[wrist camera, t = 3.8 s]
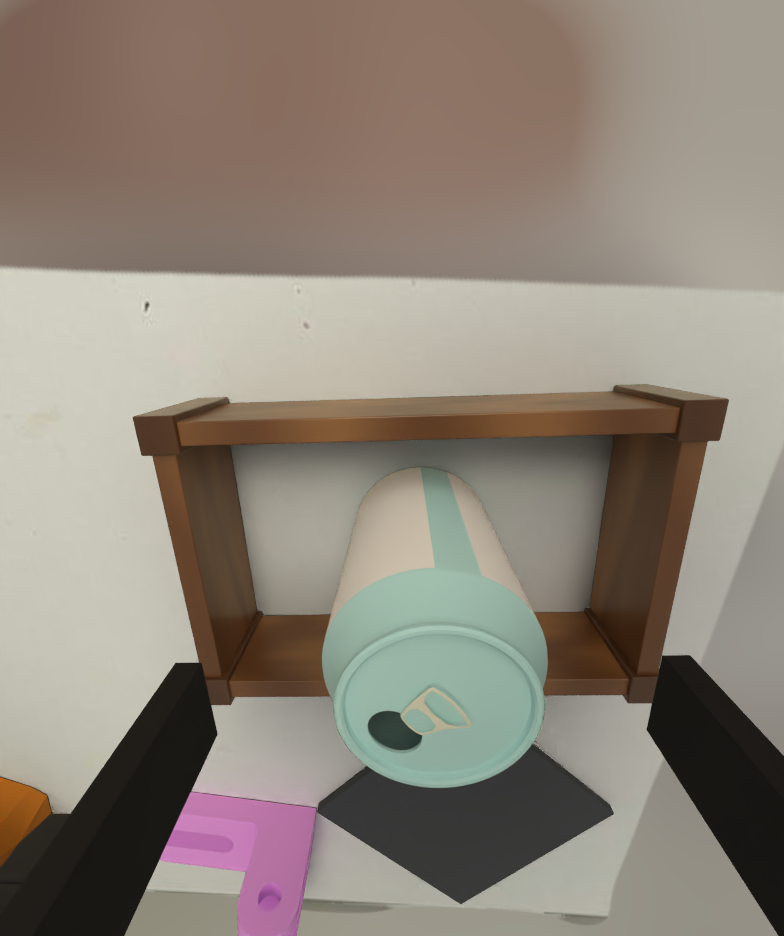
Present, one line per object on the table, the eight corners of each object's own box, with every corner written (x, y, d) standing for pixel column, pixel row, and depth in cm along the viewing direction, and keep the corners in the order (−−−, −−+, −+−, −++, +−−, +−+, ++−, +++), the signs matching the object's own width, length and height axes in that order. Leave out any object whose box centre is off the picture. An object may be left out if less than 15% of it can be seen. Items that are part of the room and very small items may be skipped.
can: (463, 588, 23) (522, 824, 12) (346, 564, 23) (292, 783, 12) (499, 478, 21) (612, 638, 10) (370, 450, 21) (333, 582, 10)
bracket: (316, 808, 30) (291, 943, 23) (310, 856, 31) (285, 995, 25) (141, 785, 29) (65, 916, 23) (145, 835, 31) (75, 970, 24)
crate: (647, 384, 20) (729, 399, 15) (608, 629, 24) (661, 704, 19) (197, 398, 20) (131, 416, 15) (240, 632, 25) (199, 705, 20)
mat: (465, 690, 26) (467, 698, 25) (610, 804, 29) (614, 814, 28) (318, 803, 29) (316, 812, 29) (459, 894, 32) (460, 904, 32)
